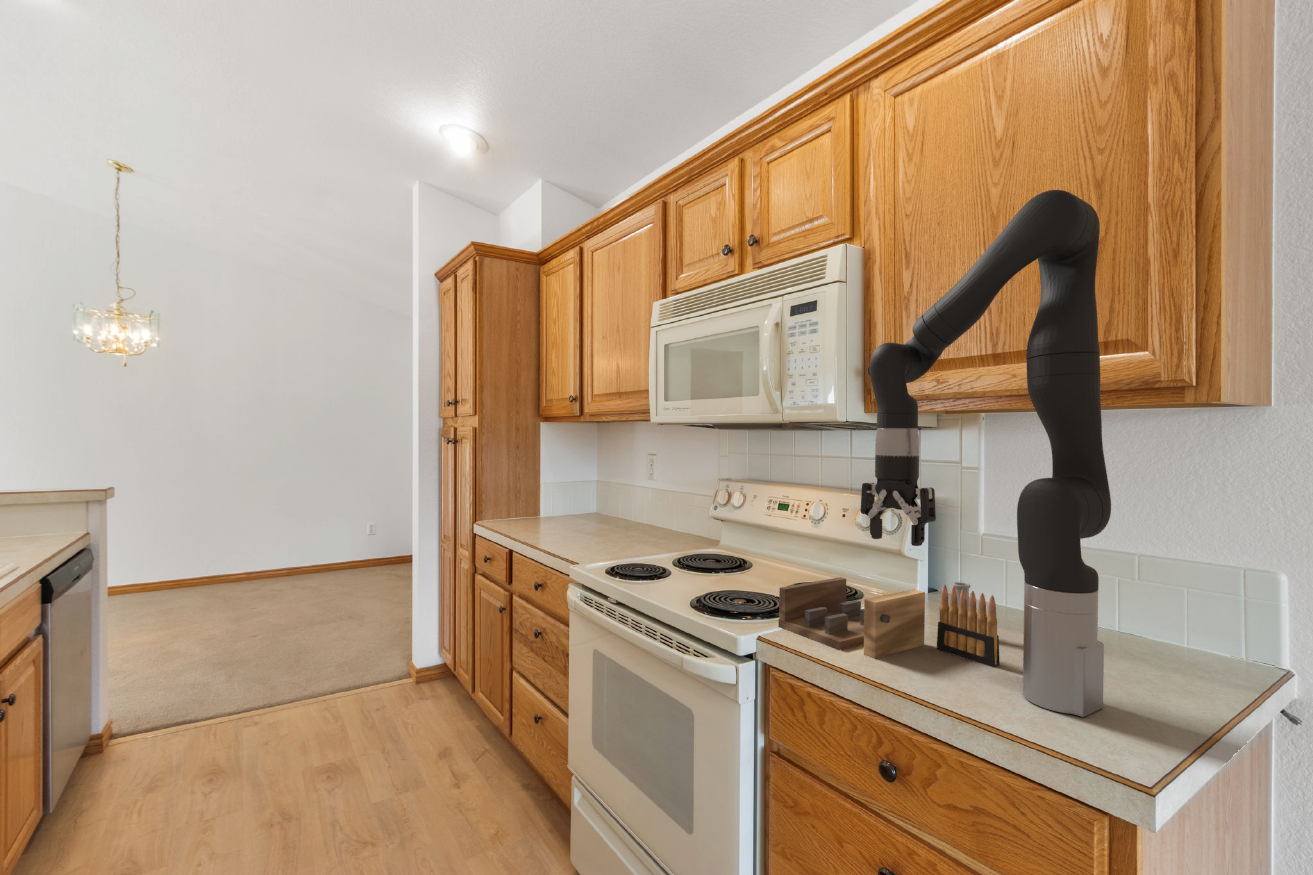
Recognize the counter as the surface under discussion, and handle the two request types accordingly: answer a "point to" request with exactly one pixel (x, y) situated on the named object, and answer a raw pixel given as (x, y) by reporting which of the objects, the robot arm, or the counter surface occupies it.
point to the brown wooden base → (822, 613)
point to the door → (894, 623)
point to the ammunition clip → (968, 628)
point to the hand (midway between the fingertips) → (896, 541)
